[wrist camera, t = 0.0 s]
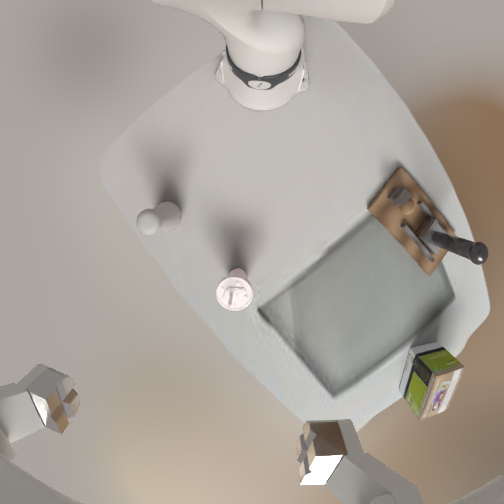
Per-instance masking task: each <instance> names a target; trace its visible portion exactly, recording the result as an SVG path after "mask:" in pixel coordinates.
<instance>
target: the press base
mask: <svg viewBox="0 0 504 504" xmlns="http://www.w3.org/2000/svg"><path fill="white" fill-rule="evenodd" d="M367 209H368V210H369V211H370V212H371V213H372V214H373V215H374V216H375V217H376V218H377V219H378V220H379V221H380V222H381V224H382V225H383V226H384V227H385V228H386V229H387V230H388V231H389V232H390V233H391V234H392V235H393V236H394V237H395V238H396V239H397V240H398V242H399V243H400V244H401V245H402V246H403V247H404V248H405V249H406V250H407V252H408V253H409V254H410V255H411V256H412V257H413V258H414V260H415V261H416V262H417V263H418V264H419V265H420V267H421V268H422V269H423V270H424V271H425V273H426V274H427V275H429V276H431V274H432V273H433V271H434V270H435V269H436V267H437V266H438V265H439V263H440V262H441V260H442V259H443V258H444V256H445V255H446V253H447V252H448V251H447V250H445V249H442V248H441V249H440V251H439V252H438V253H437V255H436V254H433V253H431V252H429V251H428V250H427V249H426V247H425V246H424V245H423V244H422V243H421V241H420V240H419V239H418V238H417V237H416V236H415V234H416V232H417V231H418V229H419V228H420V227H421V225H422V224H423V222H424V221H425V219H426V218H427V217H429V218H434V219H436V220H437V221H438V224H439V225H440V227H441V228H442V229H443V231H444V232H445V233H446V234H449V235H452V236H456V235H455V234H454V232H453V231H452V229H451V228H450V226H449V225H448V224H447V222H446V221H445V220H444V218H443V217H442V216H441V214H440V213H439V212H438V210H437V209H436V208H435V206H434V205H433V204H432V203H431V201H430V200H429V199H428V197H427V196H426V195H425V194H424V193H423V191H422V190H421V189H420V188H419V187H418V185H417V184H416V183H415V182H414V181H413V180H412V178H411V177H410V176H409V175H408V174H407V173H406V172H405V170H404V169H403V168H402V167H399V168H398V169H397V170H396V171H395V173H394V174H393V175H392V177H391V178H390V179H389V181H388V182H387V183H386V185H385V186H384V187H383V189H382V190H381V191H380V193H379V194H378V195H377V196H376V198H375V199H374V200H373V202H372V203H371V204H370V206H369V207H368V208H367Z"/></svg>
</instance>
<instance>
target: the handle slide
mask: <svg viewBox="0 0 504 504" xmlns="http://www.w3.org/2000/svg"><path fill="white" fill-rule="evenodd" d="M415 236H416V237H417V238H418V239H419V240H420V241H421V243H422V244H423V245H424V246H425V247H426V249H427V250H428V251H429V252H431V253H433V254H436V255H437V253H438V252H439V251H440V249H441V248H442V249H445V250H447V251H450V252H453V253H455V254H458V255H460V256H463V257H465V258H468V259H470V260H471V261H472V262H473V263H474V264H477V265H480V264H483V263H484V262H485V261H486V260H487V258H488V249H487V247H486V245H485V244H484V243H482V242H472V241H469V240H466V239H462V238H459V237H456V236H452V235H449V234H446V233H445V232H444V231H443V229H442V228H441V227H440V225H439V224H438V221H437V220H436V219H434V218H429V217H427V218H426V219H425V221H424V222H423V224H422V225H421V227H420V228H419V229H418V231H417V232H416V234H415Z"/></svg>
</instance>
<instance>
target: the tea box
mask: <svg viewBox="0 0 504 504" xmlns="http://www.w3.org/2000/svg"><path fill="white" fill-rule="evenodd" d="M463 369H464V366H463V365H462V364H461V363H460V362H459V361H457V359H456V358H455V357H453V356H452V355H451V354H450V353H449V352H448V351H447V350H446V349H445V348H444V347H443V346H441V345H440V344H439V343H438V342H433V343H429V344H425V345H420V346H416V347H412V348H410V351H409V355H408V359H407V363H406V367H405V370H404V374H403V377H402V381H401V384H400V387H399V391H400V392H401V394H402V395H403V397H404V398H405V399H406V401H407V402H408V404H409V405H410V407H411V408H412V410H413V411H414V413H415V414H416V416H417V417H418V419H419V420H421V419H424V418H427V417H430V416H432V415H435V414H437V413H440V412H442V411H445V410H447V408H448V406H449V404H450V402H451V400H452V397H453V395H454V393H455V390H456V388H457V385H458V383H459V380H460V378H461V375H462V372H463Z"/></svg>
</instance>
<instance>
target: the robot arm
mask: <svg viewBox="0 0 504 504" xmlns="http://www.w3.org/2000/svg"><path fill="white" fill-rule="evenodd" d="M151 1H152V2H154V3H155V4H157V5H159V6H164V7H170V8H175V9H178V10H182V11H185V12H188V13H190V14H192V15H195V16H197V17H199V18H201V19H202V20H204V21H206V22H207V23H209V24H210V25H212V26H213V27H215V28H216V29H217V30H218V31H220V32H221V33H222V34H223V36H224V38H225V41H226V50H224V51H223V53H222V56H223V58H222V60H221V63H220V65H219V67H218V70H217V72H216V79H217V80H218V81H219V82H220V83H221V84H223V85H224V86H226V88H227V89H228V91H229V93H230V94H231V96H232V97H233V98H234V99H235V100H236V101H237V102H238V103H240V104H241V105H243V106H245V107H247V108H250V109H254V110H272V109H275V108H278V107H281V106H283V105H284V104H286V103H287V102H288V101H289V100H290V99H291V98H292V97H293V96H294V95H296V94H298V93H300V92H303V91H305V90H307V89H308V87H309V81H308V74H307V67H306V61H305V55H304V49H303V40H304V37H305V32H306V29H305V23H304V21H303V18H302V17H301V15H303V16H309V17H314V18H319V19H324V20H331V21H342V22H352V23H361V24H371V23H374V22H376V21H378V20H380V19H381V18H383V17H384V16H386V14H388V13H389V12H390V10H391V9H392V8H393V6H394V4H395V2H396V0H151ZM221 71H222V72H221ZM303 79H304V81H302V80H303ZM74 386H75V383H74V380H73V378H72V377H70V376H68V375H65V374H63V373H61V372H59V371H56V370H54V369H52V368H50V367H48V366H46V365H43V364H38V365H37V366H36V367H35V368H34V369H33V370H31V371H30V372H29V373H28V374H27V375H26V376H25V377H24V378H23V379H22V380H21V381H20V382H18V383H17V384H15V383H12V384H8V385H4V386H0V504H82V503H80V502H77V501H75V500H74V499H71V498H70V497H68V496H66V495H64V494H62V493H60V492H58V491H56V490H55V489H53V488H51V487H49V486H47V485H46V484H44V483H43V482H41V481H39V480H38V479H36V478H34V477H33V476H32V475H30V474H28V473H27V472H26V471H24V470H23V469H21V468H20V467H18V466H17V465H15V464H14V463H13V462H12V461H13V459H14V458H15V457H16V455H17V454H16V451H15V450H14V448H13V447H12V445H11V444H10V443H12V442H14V441H16V440H18V439H20V438H23V437H25V436H27V435H29V434H31V433H33V432H35V431H38V430H40V429H41V428H44V426H46V427H47V428H50V429H51V430H54V431H56V432H58V433H60V434H62V433H63V432H64V430H65V429H66V427H67V426H68V425H69V418H70V417H73V416H75V414H76V413H77V411H78V409H79V405H80V402H79V396H78V394H77V392H76V391H75V390H74V389H73V388H74ZM303 432H304V433H303V434H302V435H301V436H300V437H299V439H298V443H297V460H298V461H299V462H300V463H301V466H300V468H299V476H300V484H301V485H305V484H307V485H309V484H325V485H326V486H327V487H328V488H329V489H330V490H331V492H332V493H333V494H334V495H335V496H336V497H337V498H338V499H339V500H340V501H341V502H342V503H343V504H424V502H423V499H422V497H421V495H420V492H419V490H418V488H417V486H416V485H415V484H414V483H412V482H410V481H409V480H407V479H406V478H404V477H402V476H401V475H399V474H398V473H396V472H395V471H393V470H392V469H390V468H389V467H387V466H386V465H385V464H383V463H382V462H380V461H379V460H377V459H376V458H375V457H373V456H372V455H370V454H369V453H364V452H363V450H362V447H361V444H360V441H359V439H358V436H357V433H356V431H355V428H354V425H353V423H352V421H351V420H350V419H345V420H322V421H306V422H305V424H304V426H303ZM450 504H504V474H502V475H500V476H497V477H496V478H494V479H493V480H491V481H489V482H488V483H486V484H485V485H483V486H481V487H479V488H478V489H476V490H474V491H472V492H471V493H469V494H467V495H465V496H463V497H461V498H459V499H457V500H455V501H454V502H451V503H450Z"/></svg>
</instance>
